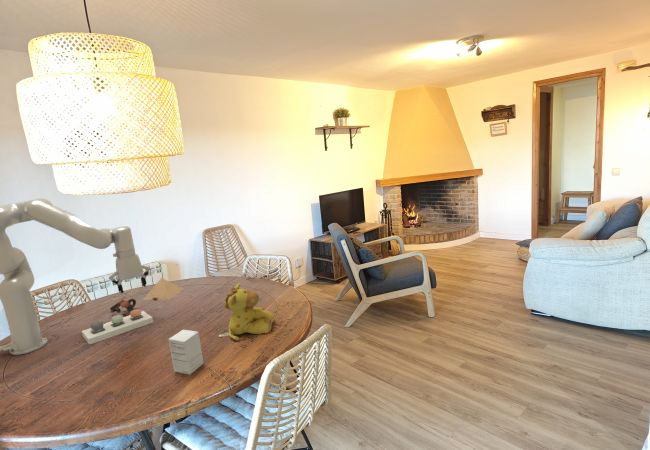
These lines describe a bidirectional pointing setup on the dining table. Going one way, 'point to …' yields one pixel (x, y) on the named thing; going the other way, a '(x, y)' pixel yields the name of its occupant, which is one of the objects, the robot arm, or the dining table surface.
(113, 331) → the panel
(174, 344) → the supplement box
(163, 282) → the model pyramid
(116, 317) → the button sage
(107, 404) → the dining table surface
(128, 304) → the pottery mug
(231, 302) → the giraffe plush
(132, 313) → the button terracotta
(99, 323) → the button charcoal
